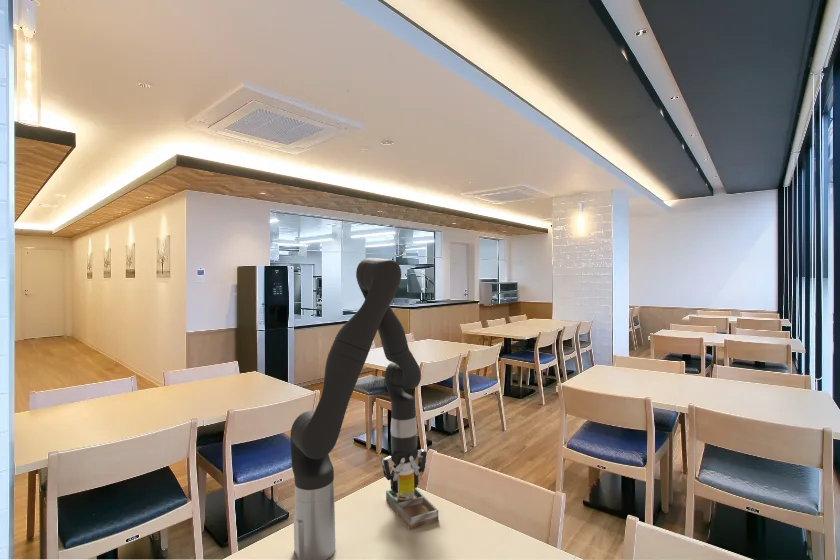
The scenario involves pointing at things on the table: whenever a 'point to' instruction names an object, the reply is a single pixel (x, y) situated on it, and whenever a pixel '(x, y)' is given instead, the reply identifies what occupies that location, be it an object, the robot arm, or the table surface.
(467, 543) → the table surface
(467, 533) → the table surface
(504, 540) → the table surface
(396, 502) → the divided sorting tray
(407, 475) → the supplement bottle
